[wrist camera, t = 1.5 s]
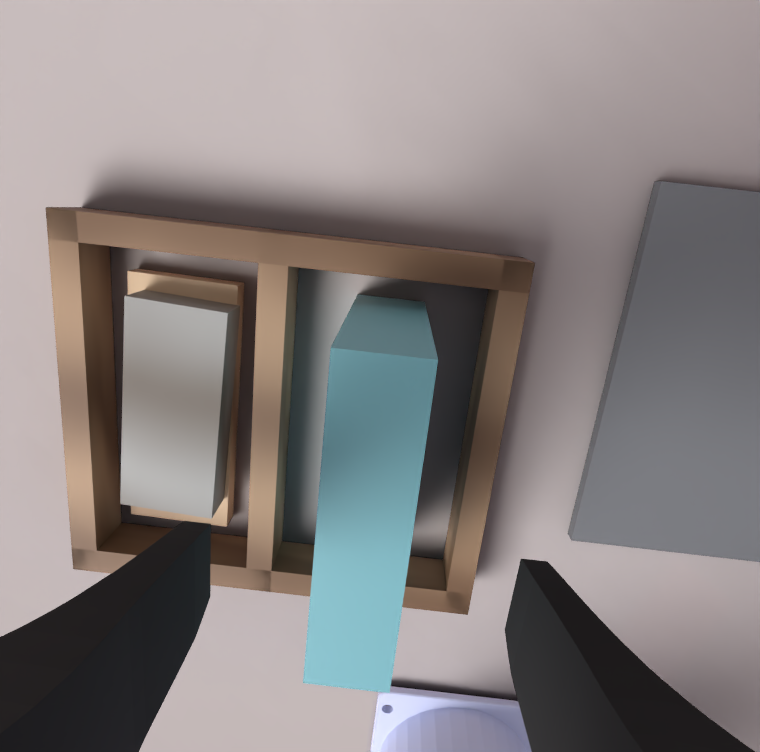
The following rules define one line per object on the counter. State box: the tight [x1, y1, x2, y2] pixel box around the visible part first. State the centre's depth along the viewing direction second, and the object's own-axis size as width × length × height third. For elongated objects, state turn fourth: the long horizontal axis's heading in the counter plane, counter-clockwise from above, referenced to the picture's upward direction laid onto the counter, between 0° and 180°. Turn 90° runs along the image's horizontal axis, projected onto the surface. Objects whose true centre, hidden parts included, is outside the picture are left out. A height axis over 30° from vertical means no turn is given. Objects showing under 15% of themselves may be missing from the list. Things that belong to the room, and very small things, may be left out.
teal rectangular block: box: [303, 294, 438, 693], centre depth 18 cm, size 10×2×8 cm, turn 174°
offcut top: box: [120, 290, 240, 519], centre depth 20 cm, size 8×4×2 cm, turn 171°
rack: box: [46, 207, 535, 615], centre depth 21 cm, size 14×16×2 cm
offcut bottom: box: [127, 269, 244, 527], centre depth 22 cm, size 10×4×2 cm, turn 173°
